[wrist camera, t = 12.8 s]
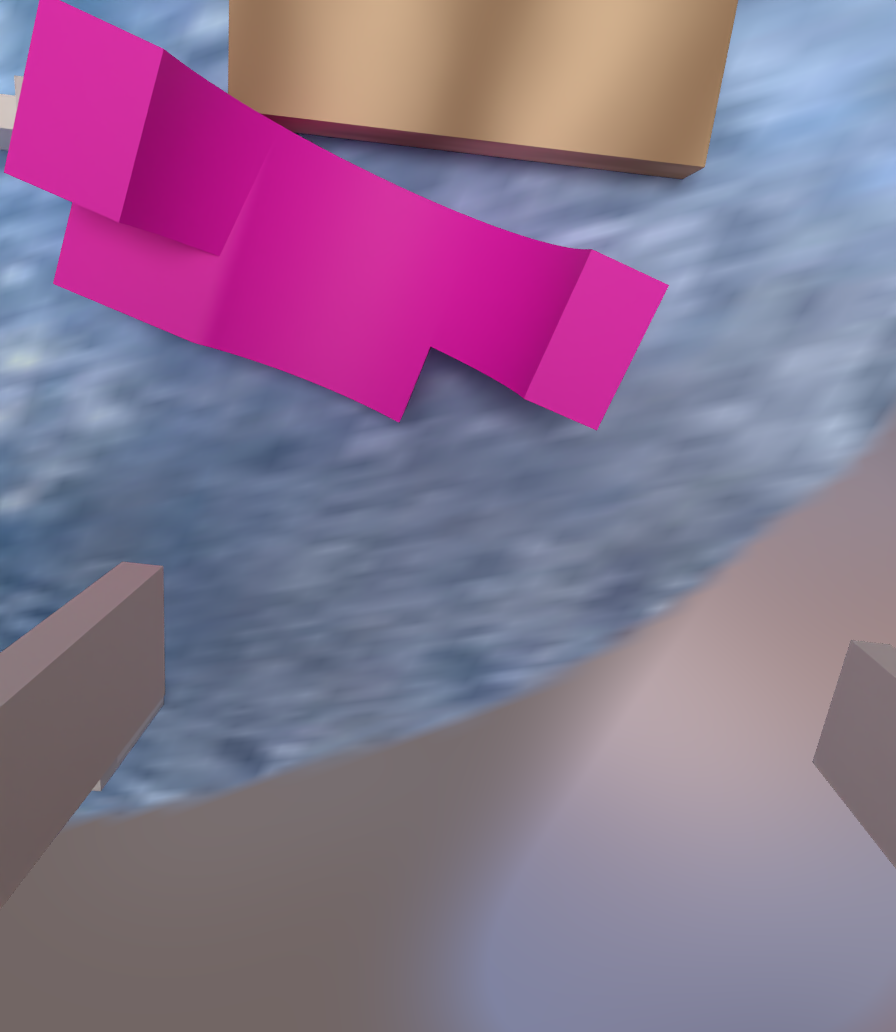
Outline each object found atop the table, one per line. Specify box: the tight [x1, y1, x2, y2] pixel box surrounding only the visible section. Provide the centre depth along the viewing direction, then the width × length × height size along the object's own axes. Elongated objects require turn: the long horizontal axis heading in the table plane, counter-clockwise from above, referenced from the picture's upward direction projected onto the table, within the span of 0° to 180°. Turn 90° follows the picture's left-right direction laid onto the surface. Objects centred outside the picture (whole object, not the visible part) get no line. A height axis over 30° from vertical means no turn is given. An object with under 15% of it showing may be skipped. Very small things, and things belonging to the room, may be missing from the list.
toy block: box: [4, 0, 669, 430], centre depth 20 cm, size 15×6×8 cm, turn 67°
